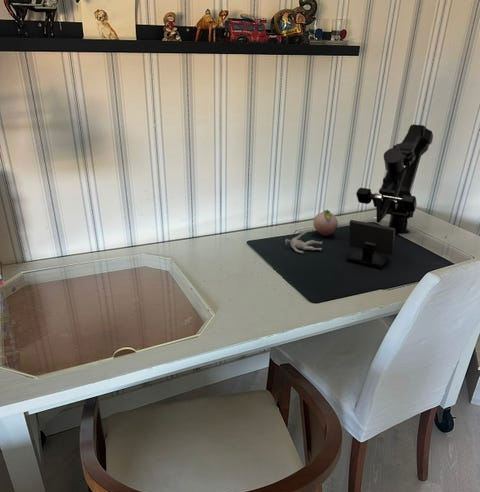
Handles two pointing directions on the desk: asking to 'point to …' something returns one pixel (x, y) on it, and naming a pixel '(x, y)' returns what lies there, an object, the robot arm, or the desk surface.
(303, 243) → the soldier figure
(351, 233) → the monitor screen
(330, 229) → the decorative fruit
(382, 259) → the monitor stand
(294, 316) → the desk surface
